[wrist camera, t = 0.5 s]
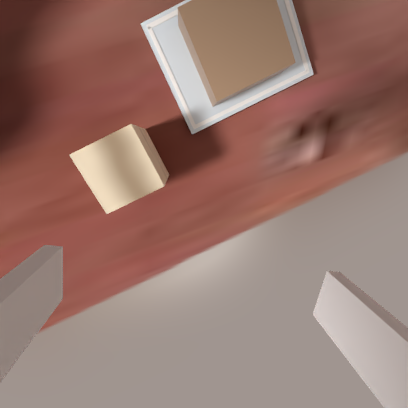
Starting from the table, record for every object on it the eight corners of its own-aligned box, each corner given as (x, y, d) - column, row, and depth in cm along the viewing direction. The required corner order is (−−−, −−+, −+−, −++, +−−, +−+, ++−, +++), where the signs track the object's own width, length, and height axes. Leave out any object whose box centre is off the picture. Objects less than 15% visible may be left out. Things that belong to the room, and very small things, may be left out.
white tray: (191, 134, 32) (193, 133, 27) (142, 27, 28) (133, 4, 23) (309, 76, 31) (332, 64, 27) (274, -42, 28) (294, -80, 23)
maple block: (126, 195, 34) (106, 214, 25) (100, 151, 32) (69, 154, 23) (169, 174, 33) (164, 186, 25) (145, 128, 31) (131, 123, 23)
